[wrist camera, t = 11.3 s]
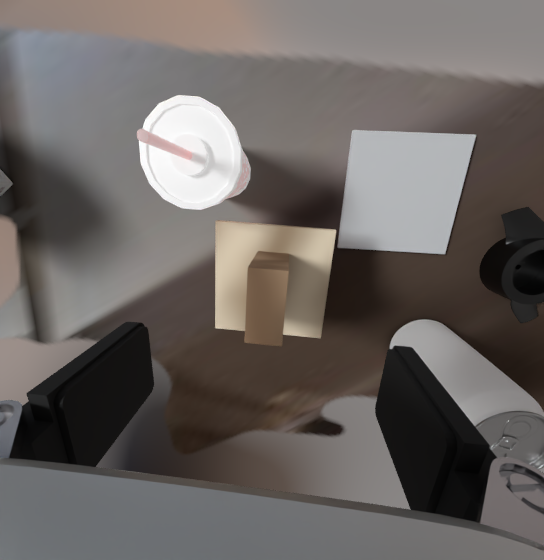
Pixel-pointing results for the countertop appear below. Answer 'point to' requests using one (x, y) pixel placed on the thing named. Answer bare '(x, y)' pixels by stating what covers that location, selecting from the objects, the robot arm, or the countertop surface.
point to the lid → (272, 279)
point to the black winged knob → (518, 263)
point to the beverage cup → (192, 153)
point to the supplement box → (4, 183)
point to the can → (480, 391)
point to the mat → (403, 190)
